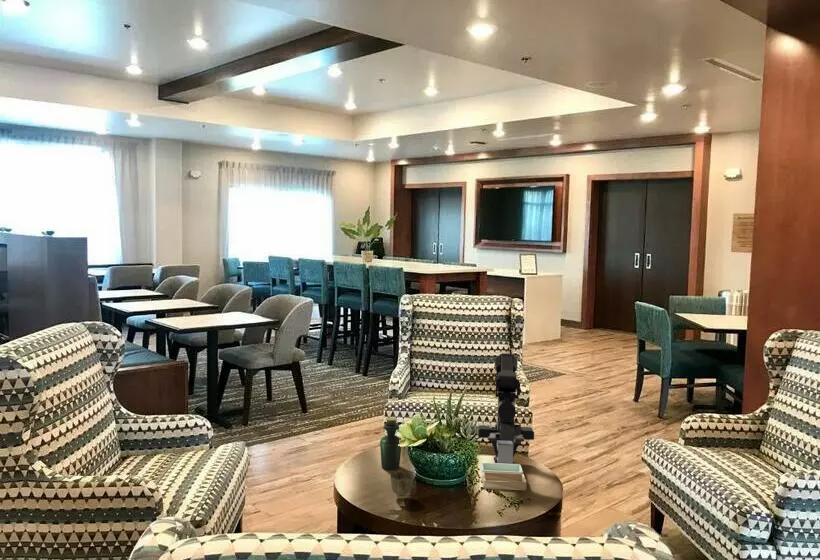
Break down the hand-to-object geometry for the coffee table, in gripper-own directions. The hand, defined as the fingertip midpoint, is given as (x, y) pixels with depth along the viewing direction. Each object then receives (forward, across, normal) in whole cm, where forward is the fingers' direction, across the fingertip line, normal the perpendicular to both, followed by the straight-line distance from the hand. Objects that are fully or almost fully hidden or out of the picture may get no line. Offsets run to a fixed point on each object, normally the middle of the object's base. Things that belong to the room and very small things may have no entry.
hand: (504, 457), depth 215 cm
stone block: (+1, 0, 0) cm, 1 cm away
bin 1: (+10, 0, +10) cm, 14 cm away
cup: (+11, -34, -13) cm, 38 cm away
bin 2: (+10, 0, 0) cm, 11 cm away
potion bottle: (+11, -40, +15) cm, 44 cm away
